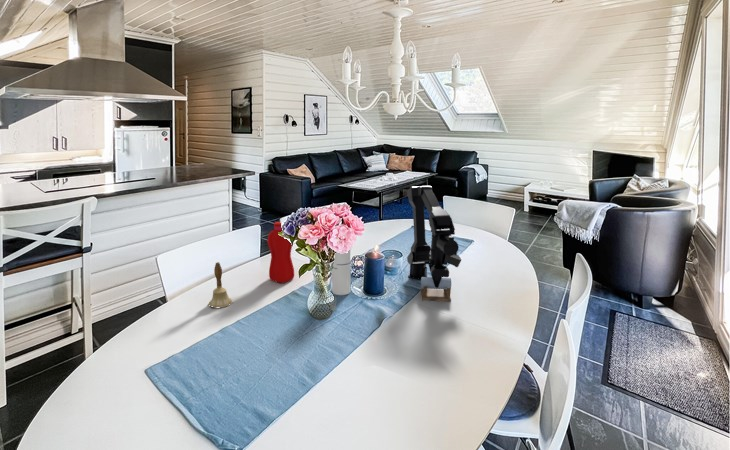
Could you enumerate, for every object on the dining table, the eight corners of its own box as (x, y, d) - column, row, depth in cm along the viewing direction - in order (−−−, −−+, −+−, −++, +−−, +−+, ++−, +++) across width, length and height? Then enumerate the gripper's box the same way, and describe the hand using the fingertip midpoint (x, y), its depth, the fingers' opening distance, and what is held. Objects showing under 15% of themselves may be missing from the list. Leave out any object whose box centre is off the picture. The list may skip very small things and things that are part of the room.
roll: (421, 290, 148) (422, 279, 146) (420, 285, 152) (421, 275, 151) (450, 291, 147) (451, 280, 146) (449, 286, 151) (449, 276, 150)
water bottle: (300, 276, 167) (298, 220, 160) (282, 285, 158) (279, 226, 151) (284, 271, 171) (282, 217, 164) (266, 280, 162) (262, 222, 156)
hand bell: (232, 297, 147) (229, 257, 143) (232, 307, 139) (228, 265, 135) (209, 299, 145) (205, 259, 140) (207, 310, 137) (203, 268, 133)
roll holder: (422, 300, 147) (423, 287, 145) (420, 291, 154) (421, 278, 153) (450, 301, 146) (451, 288, 145) (447, 292, 154) (448, 279, 152)
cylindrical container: (347, 296, 149) (348, 234, 142) (330, 294, 151) (329, 232, 144) (352, 288, 156) (352, 229, 149) (335, 286, 157) (334, 227, 150)
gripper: (465, 256, 135) (461, 296, 140) (456, 239, 153) (453, 275, 158) (433, 254, 136) (430, 295, 140) (427, 238, 154) (425, 274, 158)
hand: (436, 284), depth 149 cm, fingers closed on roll, 4 cm apart
